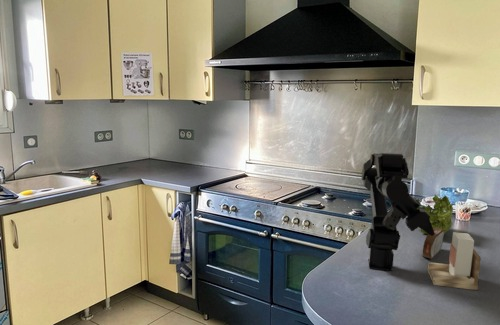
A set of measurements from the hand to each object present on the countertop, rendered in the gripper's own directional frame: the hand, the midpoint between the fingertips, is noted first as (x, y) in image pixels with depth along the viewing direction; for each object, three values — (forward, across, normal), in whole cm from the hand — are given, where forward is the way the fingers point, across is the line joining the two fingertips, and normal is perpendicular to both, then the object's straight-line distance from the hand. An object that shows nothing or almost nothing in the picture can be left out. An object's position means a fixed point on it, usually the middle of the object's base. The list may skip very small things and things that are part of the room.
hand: (433, 234), depth 119 cm
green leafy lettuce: (+14, -43, -3) cm, 46 cm away
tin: (+12, -19, -6) cm, 24 cm away
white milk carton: (+14, 0, -3) cm, 14 cm away
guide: (+13, 0, -5) cm, 14 cm away
